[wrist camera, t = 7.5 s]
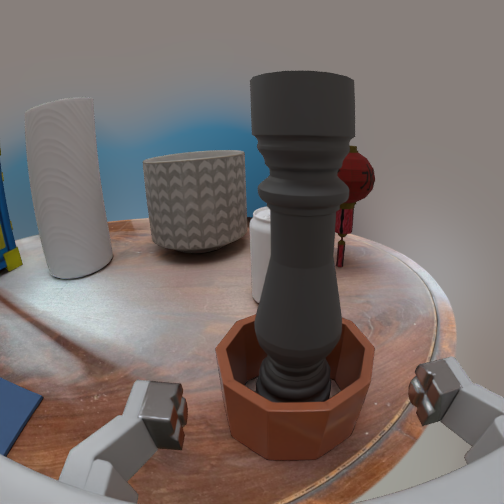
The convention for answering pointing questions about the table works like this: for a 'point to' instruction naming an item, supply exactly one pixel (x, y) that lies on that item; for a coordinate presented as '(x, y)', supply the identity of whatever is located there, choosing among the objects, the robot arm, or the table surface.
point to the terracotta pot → (292, 413)
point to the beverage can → (259, 249)
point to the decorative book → (7, 235)
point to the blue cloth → (14, 412)
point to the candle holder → (301, 226)
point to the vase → (67, 187)
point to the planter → (196, 199)
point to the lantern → (352, 194)
